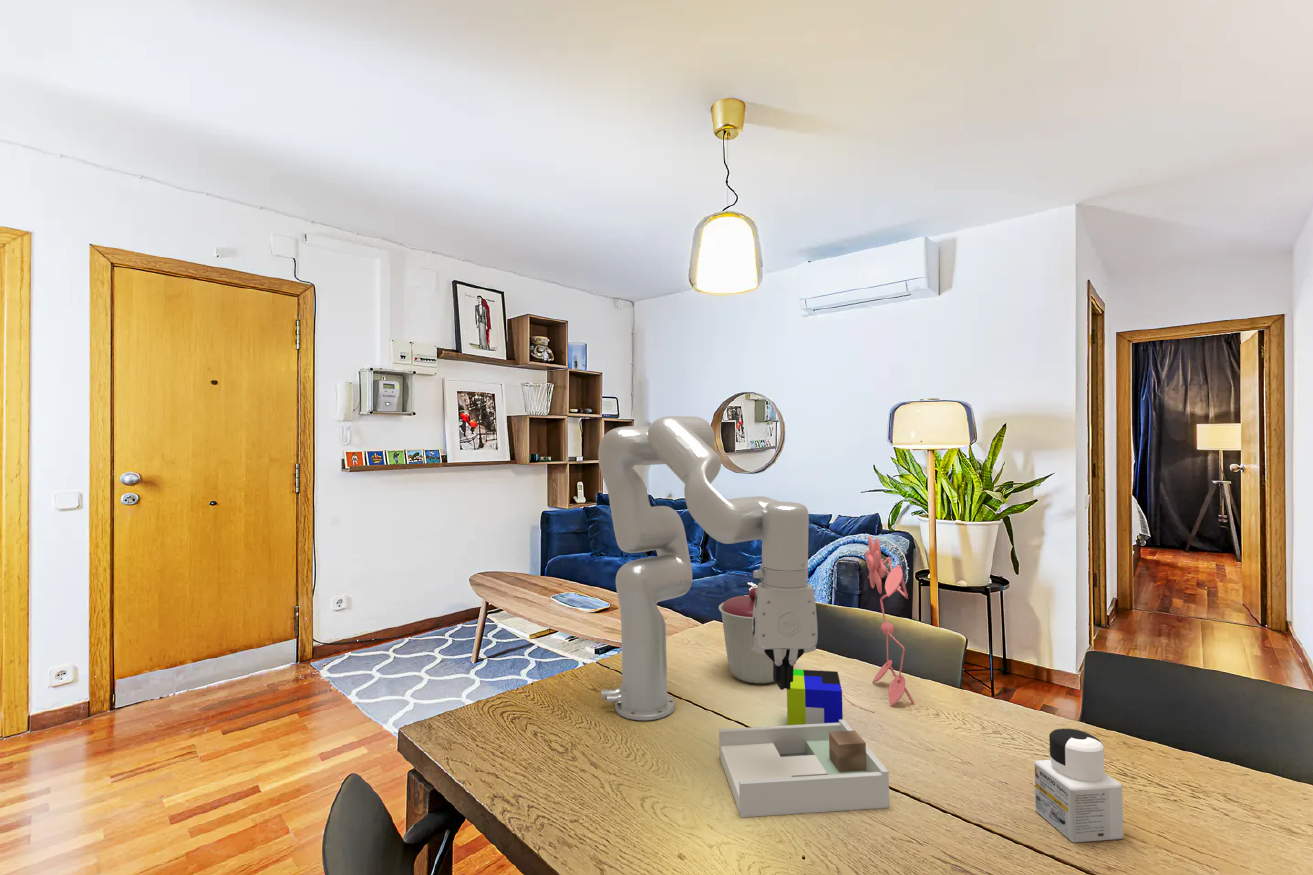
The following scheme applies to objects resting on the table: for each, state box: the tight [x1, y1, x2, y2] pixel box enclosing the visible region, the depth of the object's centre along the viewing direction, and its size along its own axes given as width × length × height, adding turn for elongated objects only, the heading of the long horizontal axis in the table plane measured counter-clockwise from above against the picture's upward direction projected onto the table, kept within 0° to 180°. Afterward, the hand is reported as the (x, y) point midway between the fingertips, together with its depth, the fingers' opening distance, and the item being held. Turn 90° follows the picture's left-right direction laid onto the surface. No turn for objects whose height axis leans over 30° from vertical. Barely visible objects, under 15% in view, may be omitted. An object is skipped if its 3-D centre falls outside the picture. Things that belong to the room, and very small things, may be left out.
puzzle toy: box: [786, 668, 844, 725], centre depth 121 cm, size 10×10×10 cm
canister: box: [718, 587, 786, 685], centre depth 150 cm, size 18×18×21 cm
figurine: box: [841, 535, 915, 714], centre depth 138 cm, size 15×26×35 cm, turn 174°
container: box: [1034, 728, 1124, 843], centre depth 90 cm, size 8×8×13 cm
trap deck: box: [718, 719, 890, 818], centre depth 104 cm, size 23×18×6 cm
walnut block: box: [829, 729, 867, 773], centre depth 103 cm, size 4×4×4 cm
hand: (783, 685), depth 104 cm, fingers closed
